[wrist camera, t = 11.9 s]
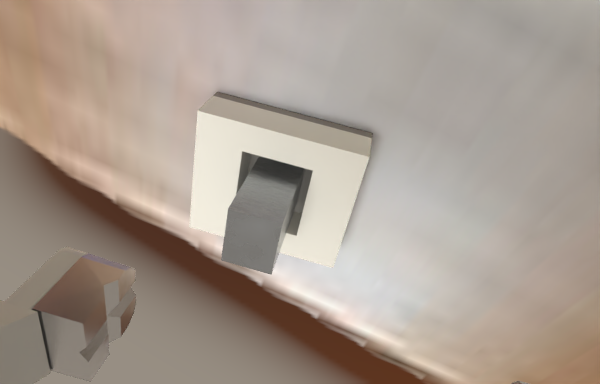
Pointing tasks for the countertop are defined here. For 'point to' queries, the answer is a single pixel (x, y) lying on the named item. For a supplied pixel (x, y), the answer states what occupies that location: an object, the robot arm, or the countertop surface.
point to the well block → (285, 148)
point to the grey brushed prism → (261, 214)
